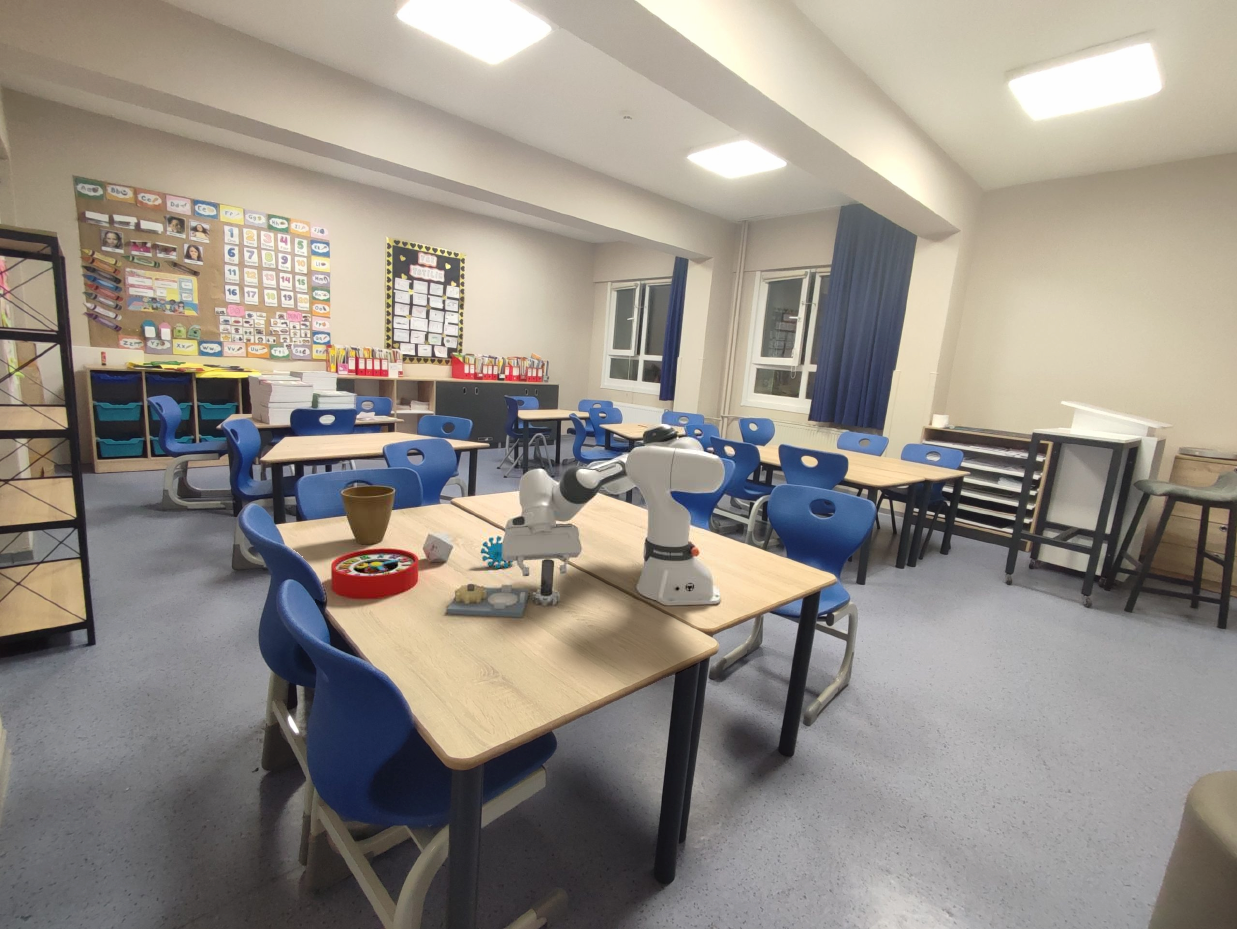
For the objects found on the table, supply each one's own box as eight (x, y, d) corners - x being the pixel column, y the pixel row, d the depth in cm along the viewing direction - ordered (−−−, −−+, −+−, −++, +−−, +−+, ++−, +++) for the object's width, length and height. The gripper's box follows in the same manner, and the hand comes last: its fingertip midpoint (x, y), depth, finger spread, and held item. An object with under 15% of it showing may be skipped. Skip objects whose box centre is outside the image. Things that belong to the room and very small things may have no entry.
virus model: (480, 565, 146) (482, 533, 152) (476, 573, 151) (478, 542, 157) (519, 568, 150) (520, 537, 156) (514, 576, 155) (515, 546, 160)
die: (415, 560, 152) (416, 541, 146) (434, 540, 158) (435, 520, 152) (440, 573, 152) (441, 555, 145) (457, 552, 158) (459, 533, 151)
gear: (560, 595, 135) (562, 557, 133) (558, 606, 128) (560, 567, 126) (534, 594, 134) (536, 556, 133) (530, 605, 128) (532, 565, 126)
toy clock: (319, 557, 133) (398, 543, 147) (320, 579, 134) (398, 563, 148) (348, 583, 119) (432, 565, 134) (348, 607, 120) (431, 587, 135)
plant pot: (378, 530, 174) (378, 483, 171) (404, 541, 166) (404, 491, 163) (332, 539, 162) (331, 489, 159) (358, 552, 154) (357, 498, 151)
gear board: (529, 594, 134) (530, 577, 133) (521, 617, 121) (522, 599, 120) (461, 590, 133) (462, 573, 132) (447, 613, 120) (447, 595, 120)
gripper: (574, 528, 145) (582, 576, 137) (498, 531, 138) (502, 581, 130) (580, 517, 140) (588, 566, 133) (501, 520, 133) (505, 571, 126)
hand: (545, 574), depth 131 cm, fingers open, 8 cm apart
